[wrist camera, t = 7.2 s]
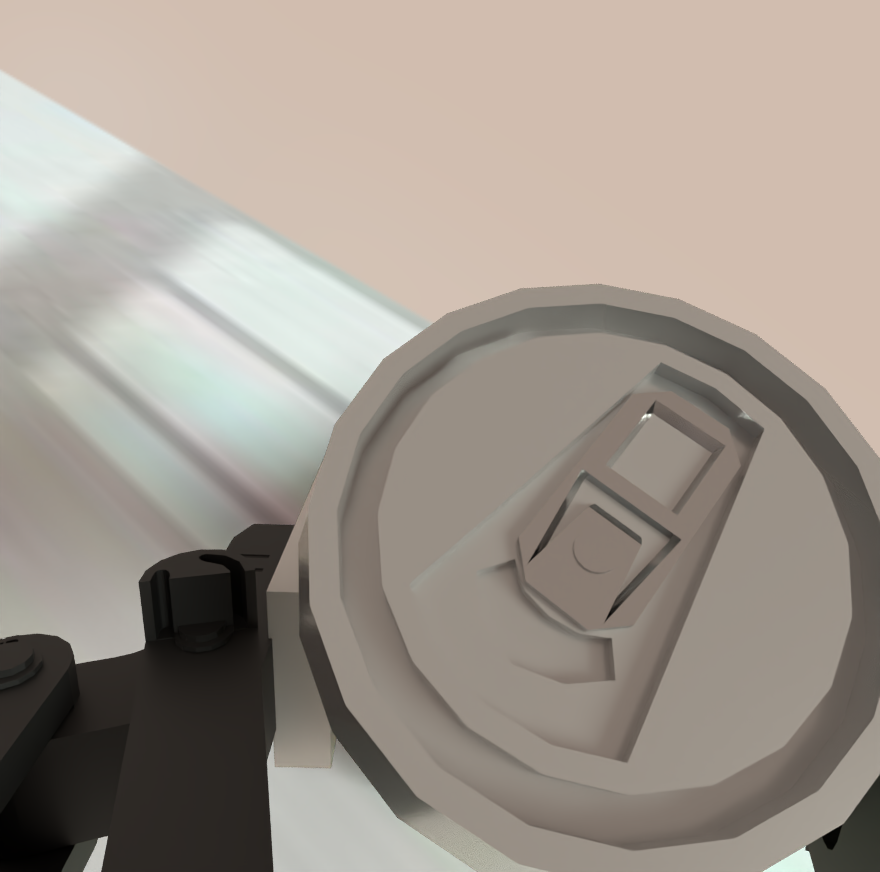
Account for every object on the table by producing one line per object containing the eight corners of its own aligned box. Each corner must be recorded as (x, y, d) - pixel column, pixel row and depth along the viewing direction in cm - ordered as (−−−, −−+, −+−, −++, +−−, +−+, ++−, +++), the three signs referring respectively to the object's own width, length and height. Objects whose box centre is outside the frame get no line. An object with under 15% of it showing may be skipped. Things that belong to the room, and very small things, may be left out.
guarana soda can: (462, 535, 18) (537, 180, 7) (635, 672, 16) (1052, 489, 6) (320, 704, 16) (126, 570, 5) (503, 875, 15) (758, 1177, 4)
